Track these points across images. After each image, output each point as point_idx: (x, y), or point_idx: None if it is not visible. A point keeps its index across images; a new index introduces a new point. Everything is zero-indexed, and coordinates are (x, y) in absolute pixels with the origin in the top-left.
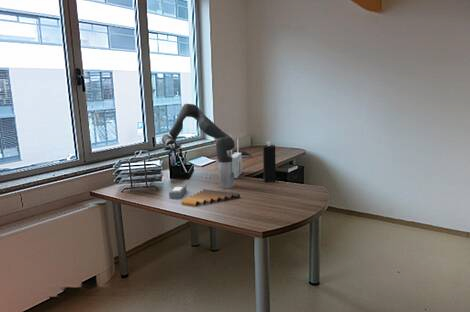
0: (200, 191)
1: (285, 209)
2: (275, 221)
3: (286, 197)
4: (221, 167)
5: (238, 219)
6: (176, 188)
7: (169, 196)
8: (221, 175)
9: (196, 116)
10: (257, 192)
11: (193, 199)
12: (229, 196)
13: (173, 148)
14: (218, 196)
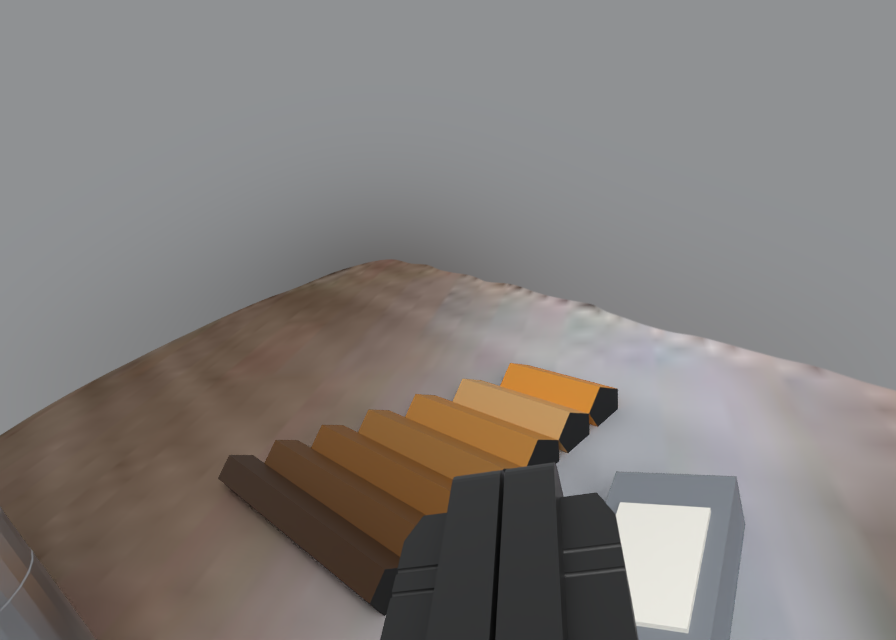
0: None
1: (199, 365)
2: (306, 298)
3: (58, 470)
4: (34, 556)
5: (401, 297)
6: (662, 570)
7: (741, 510)
8: (89, 632)
9: None
10: (70, 561)
11: (527, 397)
12: (296, 443)
13: (499, 474)
14: (356, 437)
